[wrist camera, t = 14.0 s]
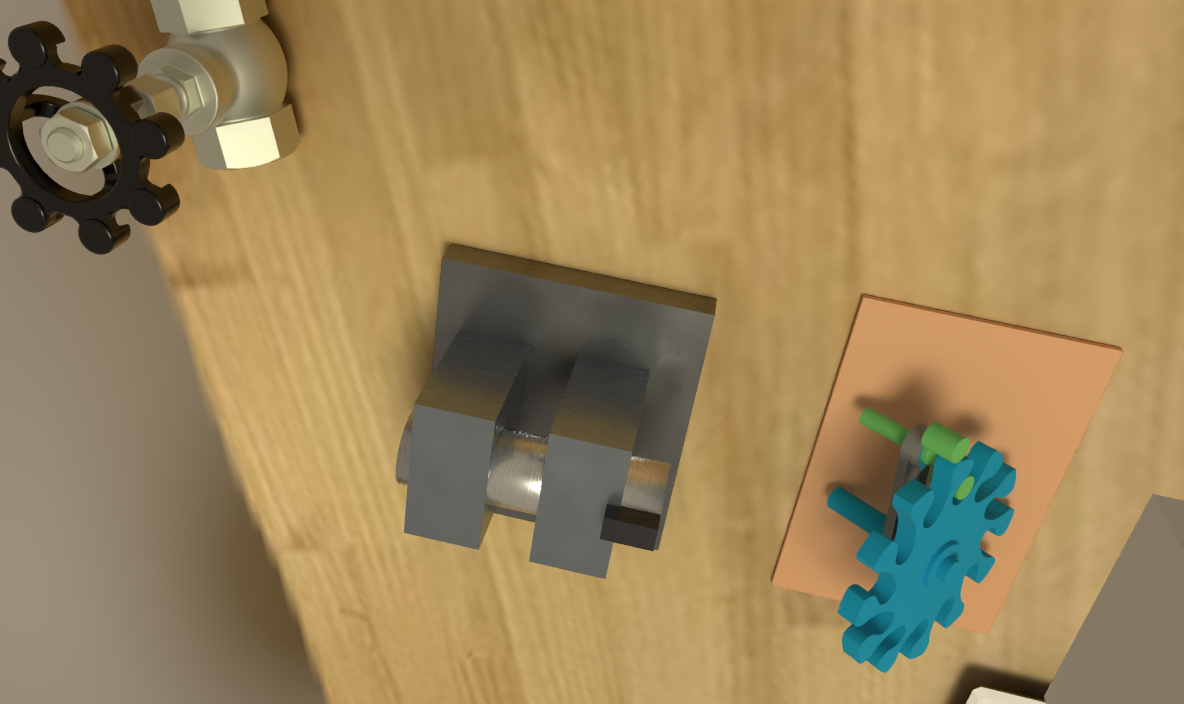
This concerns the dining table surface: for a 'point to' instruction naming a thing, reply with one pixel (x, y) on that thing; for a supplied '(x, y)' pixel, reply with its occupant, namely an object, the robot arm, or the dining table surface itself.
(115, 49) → the valve
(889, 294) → the dining table surface
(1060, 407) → the pad
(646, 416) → the shaft stand
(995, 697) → the white square picture frame
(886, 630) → the gear
